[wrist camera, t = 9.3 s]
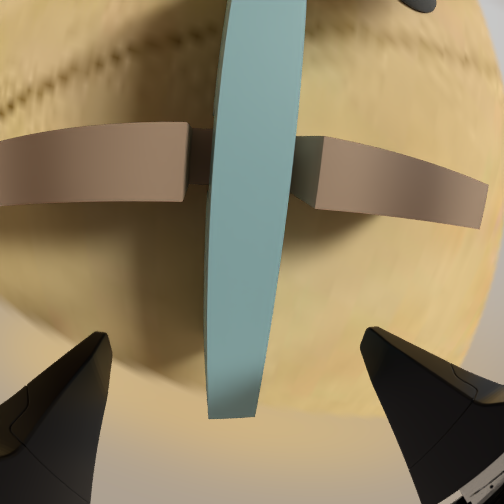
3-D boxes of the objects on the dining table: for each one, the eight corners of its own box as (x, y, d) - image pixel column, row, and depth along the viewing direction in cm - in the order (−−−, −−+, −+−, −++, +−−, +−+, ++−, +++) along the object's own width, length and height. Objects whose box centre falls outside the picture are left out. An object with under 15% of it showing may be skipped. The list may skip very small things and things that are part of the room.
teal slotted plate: (237, 334, 16) (255, 416, 11) (203, 334, 16) (208, 418, 10) (271, -20, 9) (308, -85, 3) (231, -25, 8) (250, -96, 3)
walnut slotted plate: (408, 163, 14) (488, 184, 8) (403, 196, 14) (479, 229, 9) (39, 141, 10) (-40, 152, 5) (39, 179, 11) (-36, 209, 5)
